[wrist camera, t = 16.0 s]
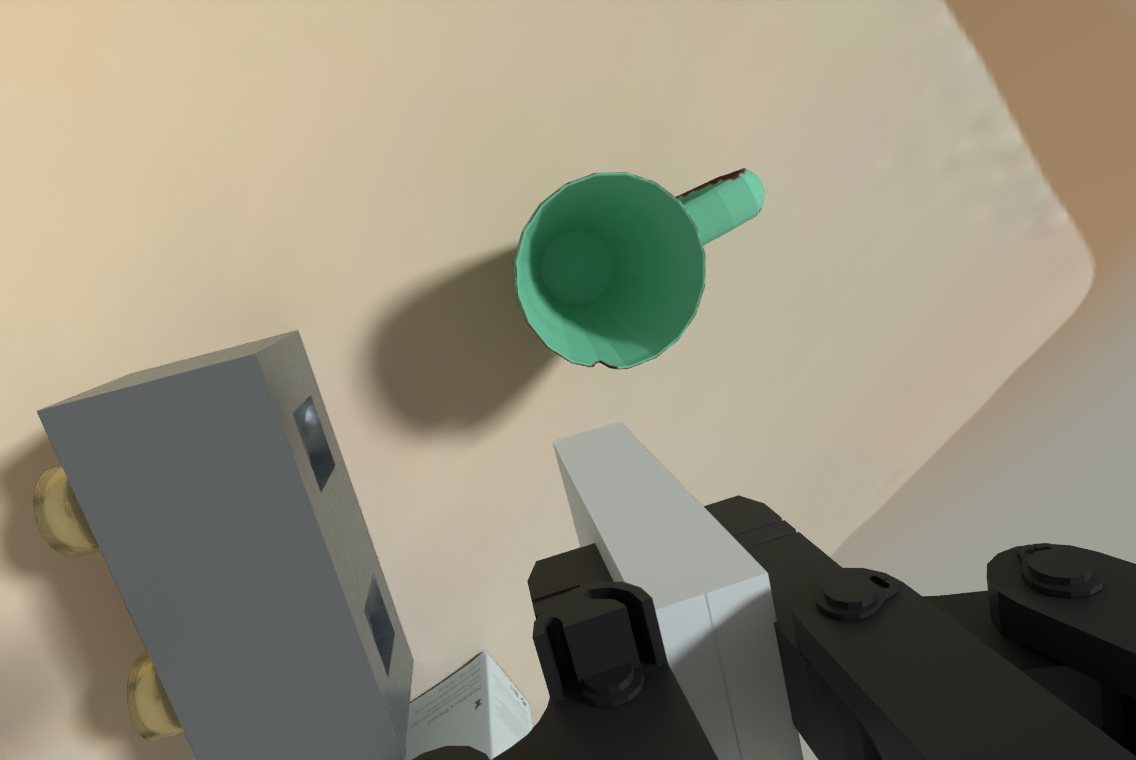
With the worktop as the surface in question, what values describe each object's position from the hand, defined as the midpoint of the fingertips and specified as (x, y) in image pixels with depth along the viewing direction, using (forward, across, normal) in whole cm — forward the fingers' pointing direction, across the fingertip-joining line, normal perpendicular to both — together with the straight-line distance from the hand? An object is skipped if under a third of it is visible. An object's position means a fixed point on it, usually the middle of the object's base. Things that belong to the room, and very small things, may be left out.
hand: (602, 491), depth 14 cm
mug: (+30, +8, +3) cm, 31 cm away
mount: (+29, -17, -9) cm, 35 cm away
